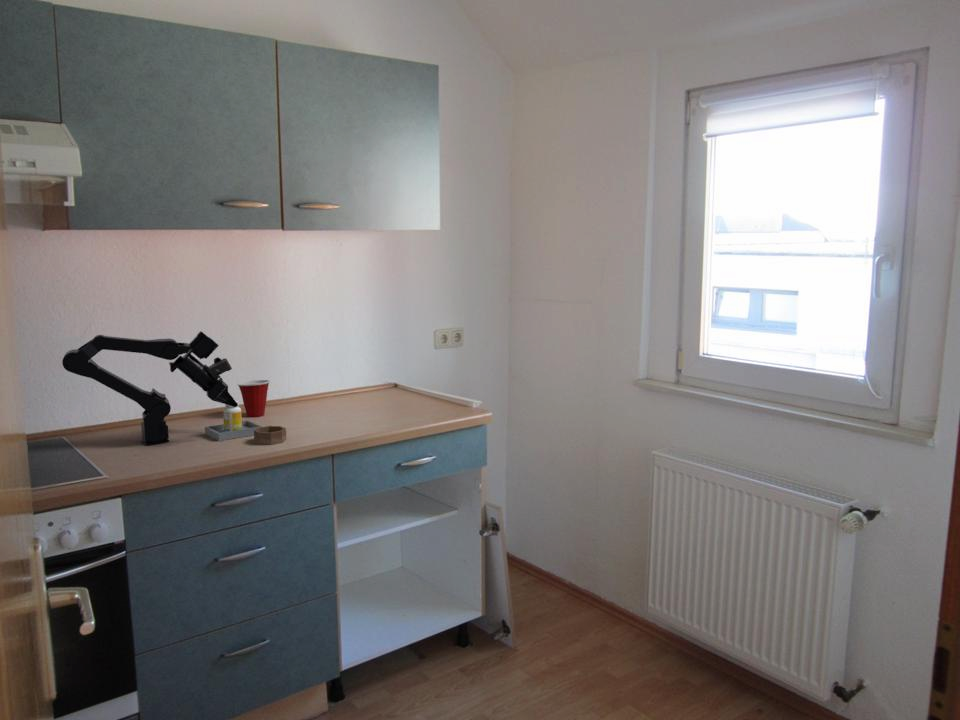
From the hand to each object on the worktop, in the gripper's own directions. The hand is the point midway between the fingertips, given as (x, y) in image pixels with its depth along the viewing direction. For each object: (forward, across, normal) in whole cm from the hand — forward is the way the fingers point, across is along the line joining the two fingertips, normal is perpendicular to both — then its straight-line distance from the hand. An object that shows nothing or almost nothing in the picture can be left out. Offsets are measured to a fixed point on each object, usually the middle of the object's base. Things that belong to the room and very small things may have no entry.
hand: (234, 403), depth 237 cm
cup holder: (+13, -13, +1) cm, 18 cm away
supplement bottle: (+6, 0, +7) cm, 9 cm away
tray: (+6, 0, +7) cm, 10 cm away
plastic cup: (+14, +24, 0) cm, 27 cm away
